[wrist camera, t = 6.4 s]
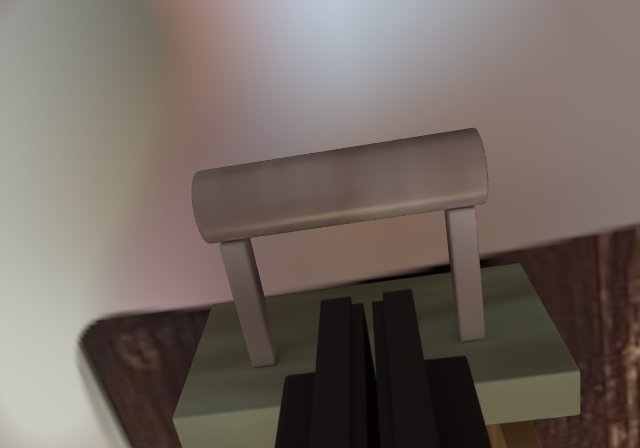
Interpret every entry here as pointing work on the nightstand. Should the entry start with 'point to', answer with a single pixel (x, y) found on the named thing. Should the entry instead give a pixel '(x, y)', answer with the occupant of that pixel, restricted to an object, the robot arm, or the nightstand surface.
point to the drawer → (366, 290)
